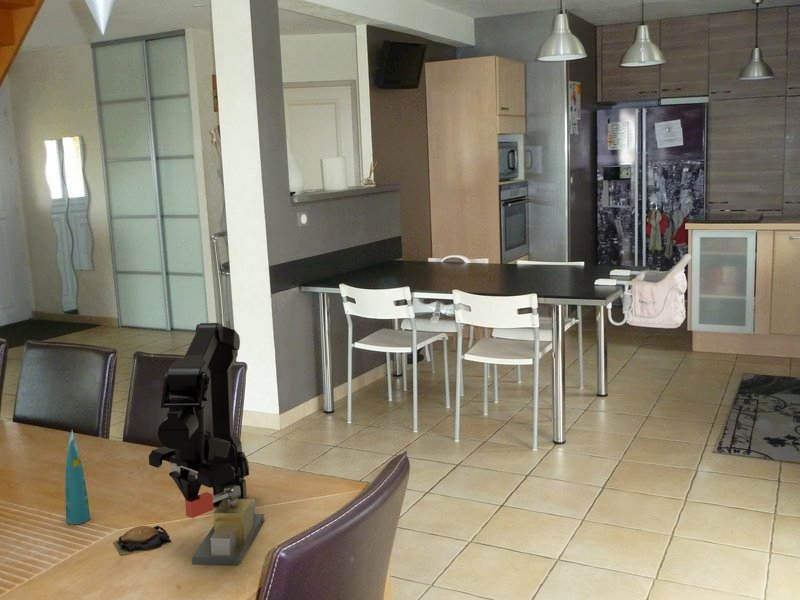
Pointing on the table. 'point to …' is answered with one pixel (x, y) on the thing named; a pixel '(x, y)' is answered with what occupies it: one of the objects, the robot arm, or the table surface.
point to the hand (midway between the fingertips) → (192, 506)
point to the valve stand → (229, 533)
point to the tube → (75, 486)
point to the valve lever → (209, 500)
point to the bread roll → (141, 540)
